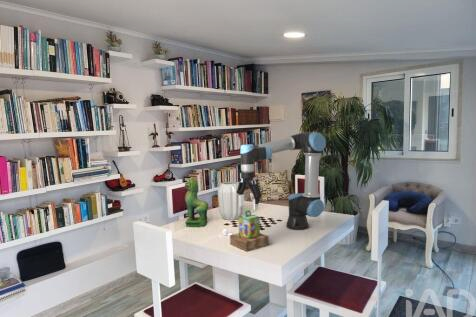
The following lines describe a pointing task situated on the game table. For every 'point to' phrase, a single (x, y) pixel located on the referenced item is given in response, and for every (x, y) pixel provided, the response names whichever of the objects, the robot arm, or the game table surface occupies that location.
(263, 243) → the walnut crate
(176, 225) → the game table surface
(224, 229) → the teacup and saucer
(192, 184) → the lion statue
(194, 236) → the game table surface
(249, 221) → the chalk box
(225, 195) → the vase
